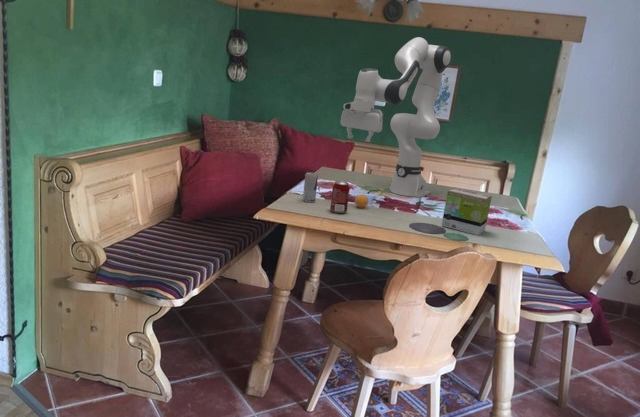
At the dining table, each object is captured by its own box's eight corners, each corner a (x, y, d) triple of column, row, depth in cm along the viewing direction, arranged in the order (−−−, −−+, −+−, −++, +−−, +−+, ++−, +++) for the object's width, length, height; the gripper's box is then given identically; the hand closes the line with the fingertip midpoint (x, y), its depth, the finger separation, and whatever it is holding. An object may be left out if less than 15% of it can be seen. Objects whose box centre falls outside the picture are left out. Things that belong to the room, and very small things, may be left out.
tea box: (440, 226, 204) (446, 190, 201) (448, 222, 213) (454, 187, 209) (478, 236, 197) (485, 198, 193) (485, 231, 205) (492, 194, 202)
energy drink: (316, 201, 224) (319, 173, 221) (312, 203, 219) (315, 175, 216) (305, 198, 226) (308, 171, 223) (300, 201, 221) (303, 173, 218)
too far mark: (450, 231, 198) (450, 231, 198) (472, 238, 192) (472, 237, 192) (439, 235, 191) (439, 235, 191) (461, 242, 186) (461, 241, 186)
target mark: (421, 221, 209) (421, 220, 209) (452, 230, 200) (452, 230, 200) (402, 226, 198) (402, 225, 198) (434, 236, 190) (434, 235, 190)
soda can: (345, 215, 206) (348, 185, 203) (328, 212, 207) (331, 183, 204) (347, 211, 212) (351, 182, 209) (331, 208, 213) (334, 180, 210)
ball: (359, 205, 224) (361, 192, 223) (369, 208, 221) (371, 195, 220) (351, 206, 220) (353, 194, 219) (362, 210, 217) (363, 196, 215)
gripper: (387, 110, 216) (382, 144, 219) (349, 105, 229) (345, 136, 232) (379, 109, 212) (373, 143, 214) (340, 104, 224) (336, 136, 227)
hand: (358, 139), depth 223 cm, fingers open, 8 cm apart
